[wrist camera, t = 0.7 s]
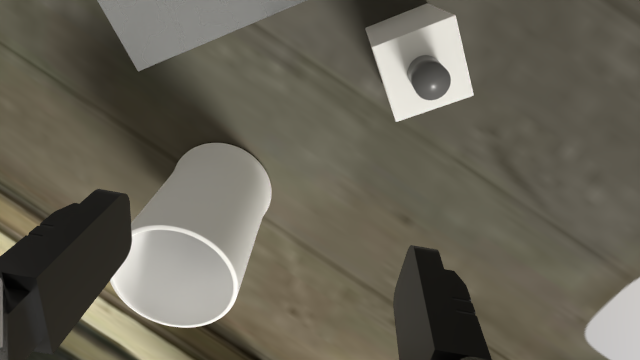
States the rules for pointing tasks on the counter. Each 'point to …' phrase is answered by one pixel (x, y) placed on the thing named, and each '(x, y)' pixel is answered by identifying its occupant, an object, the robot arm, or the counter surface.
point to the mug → (195, 238)
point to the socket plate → (180, 23)
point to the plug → (420, 60)
